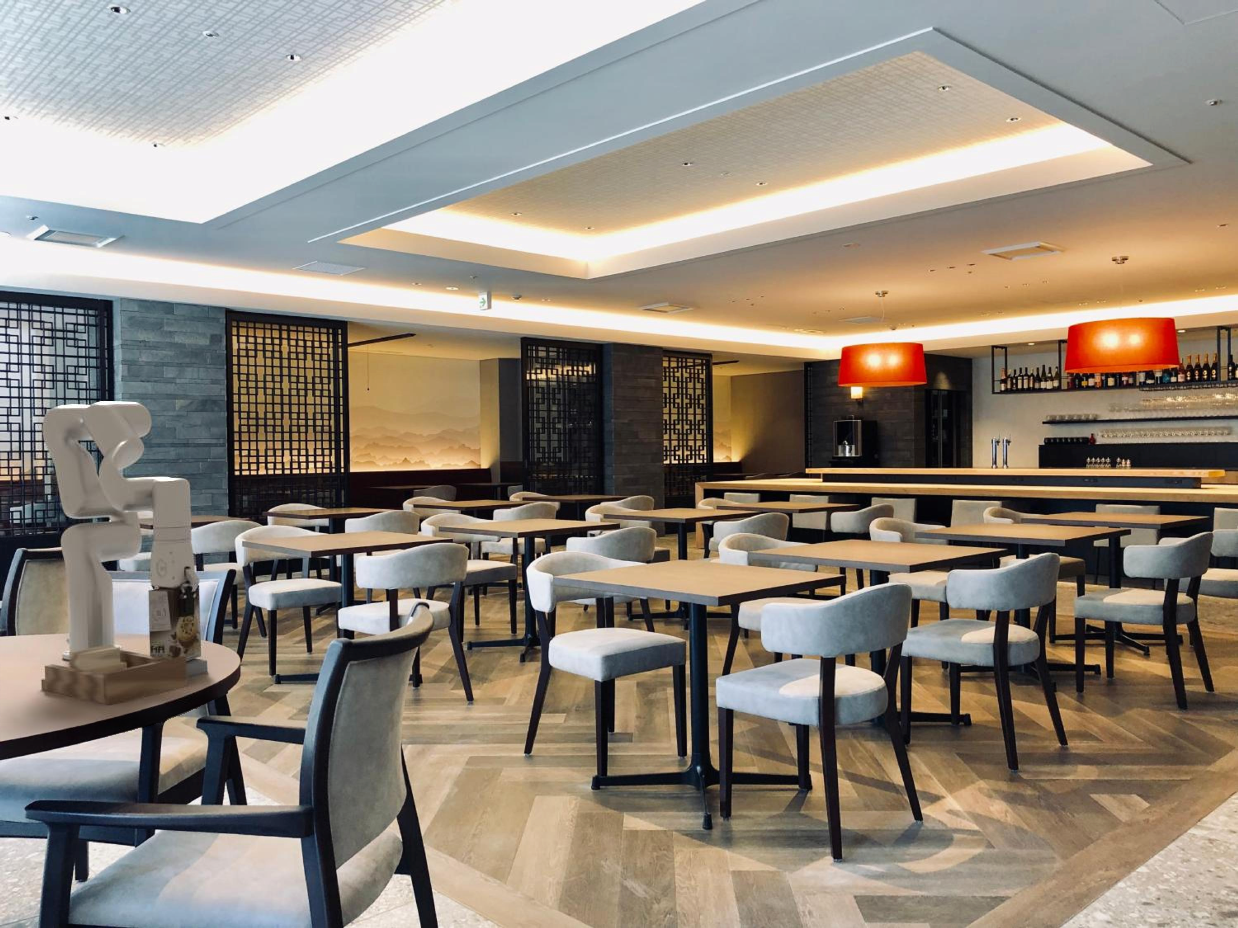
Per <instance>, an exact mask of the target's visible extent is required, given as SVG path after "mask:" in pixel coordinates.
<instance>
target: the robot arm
mask: <svg viewBox="0 0 1238 928" xmlns="http://www.w3.org/2000/svg"><path fill="white" fill-rule="evenodd" d="M151 429H152V417H151V414H150V411H149V410H148V409H147V408H146V407H145V406H144V405H143V404H141V403H140V402H135V401H98V402H95V403H92V404H65V405H64V404H63V405H59V406H58V405H57V406H55V407H51V408H50V409H48V410H47V411H46V413H45V415H44V417H43V421H42V435H43V440H44V444H45V447H46V448H47V451H48V452H49V455H50V456H51V459H52V461H53V464H54V468H55V474H56V475H55V476H56V479H57V480H56V481H57V486H58V492H59V499H60V504H61V507H62V510H63V513H64V514H65V516H66V517H69V518H70V519H71V518H72V519H74V520H75V519H76V520H77V519H79V520H81V519H96V518H98V519H99V518H109V520H110V521H99V522H98V521H97V522H86V523H85V522H84V523H79V524H75V525H72V526H69V527H67V529H65V531H64V532H63V533H62V535H61V538H60V547H61V552H62V556H63V559H64V565H65V566H64V567H65V572H66V583H67V584H66V587H67V590H66V591H67V606H68V607H67V611H68V613H67V614H68V638H67V639H66V643H67V644H69V649H67V650H65V651H63V652H62V655H61V656H62V659H64V660H68V661H70V659H69V652H72V651H78V650H84V649H89V648H95V647H101V646H107V645H110V646H115V647H119V648H120V651H122V650H123V647H122V646H121V645H119V644H116V643H115V642H116V641H115V617H114V616H115V615H114V614H115V613H114V612H115V611H114V588H113V587H114V586H113V585H114V584H113V578H112V576H111V574H110V572H109V571H108V570H107V569H106V568H105V567H104V565H103V564H102V563H105V562H109V561H111V562H112V561H117V560H118V561H119V560H126V559H130V558H134V557H136V556H137V555H138V554H139V553H140V551H141V549H142V543H143V542H142V541H143V540H142V539H143V538H142V531H141V525H140V520H139V513H140V512H141V513H142V512H152V526H153V530H152V532H153V533H152V534H153V542H152V546H151V550H150V551H151V553H150V562H149V563H150V569H149V570H150V572H149V573H150V574H149V575H148V577H149V580H150V586H151V588H152V590H154V589H159V588H170V589H175V588H177V589H178V591H179V593H180V596H181V599H179V611H180V617H187V616H193V615H194V614H195V609H194V597H195V596H196V591H197V587H198V585H199V584H200V578H199V577H198V576H197V575H196V571H195V570H196V569H195V567H196V566H195V559H194V549H193V545H192V517H191V516H192V515H191V514H192V510H191V484H190V481H189V480H187V479H186V478H181V477H180V478H179V477H169V476H147V477H146V476H145V477H124V475H122V473H121V472H120V471H121V470H123V469H125V468H128V467H129V466H131V465H133V464H135V463H136V462H137V461H138V460H139V459H141V457H142V455H143V453H144V450H145V445H144V443H143V441H142V440H141V438H142V437H145V436H146V435H148V434H149V433H150V432H151V431H150V430H151ZM79 441H93V442H94V443H95V445H96V446H97V449H99V451H100V452H101V454H102V456H103V459H102V460H101V462H100V464H99V470H98V472H97V467H96V462H95V459H94V457H93V455H91V453H90V452H89V451H88V450H87V448H85V446H83V445H81V444H80V443H79ZM185 588H187V589H186V591H184V589H185Z"/></svg>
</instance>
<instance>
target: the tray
mask: <svg viewBox="0 0 1238 928" xmlns="http://www.w3.org/2000/svg"><path fill="white" fill-rule="evenodd" d="M120 662H125V663H127V668H125V669H121V670H116V671H111V672H107V673H103V675H102V674H97V673H92V672H87V671H83V670H78V669H73V668H70V666H62V665H58V664H54V663H53V664H45V665H44V678H42V679H40V680H41V690H45V691H49V692H53V693H56V694H61V695H65V696H70V697H73V698H76V699H82V700H86V701H89V702H94V703H98V704H101V705H102V704H103V705H107V706H111V705H115V704H119V702H120V703H122V702H127V701H131V700H136V699H140V698H143V697H148V696H151V695H156V694H160V693H161V694H162V693H164V692H169V691H172V690H176V689H181V688H184V687H185V688H186V687H188V684H187V683H188V678H187V671H186V657H182V656H181V657H176V658H172V659H167V658H162V657H156V656H151V655H150V654H146V653H145V654H144V653H139V652H133V651H129V650H128V651H127V650H123V649H122V651H120Z"/></svg>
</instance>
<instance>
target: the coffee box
mask: <svg viewBox="0 0 1238 928" xmlns="http://www.w3.org/2000/svg"><path fill="white" fill-rule="evenodd" d="M186 589H187V588H185V589H184V591H186ZM179 599H181V596H180V593H179V591H178V589H177V588H175V589H170V588H159V589H150V590H148V627H149V629H148V630H149V633H148V634H149V637H148V638H149V655H151V656H156V657H162V658H167V659H172V658H176V657H181V656H182V657H186V661H188V660H192V659H195V658H196V659H199V658H200V657H202V636H201V612H200V611H201V610H200V609H201V608H200V607H201V606H200V603H201V602H200V585H199V584H198V587H197V591H196V596H195V597H194V609H195V614H194V615H193V616H187V617H180V611H179Z"/></svg>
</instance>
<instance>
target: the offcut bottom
mask: <svg viewBox="0 0 1238 928" xmlns="http://www.w3.org/2000/svg"><path fill="white" fill-rule="evenodd" d="M125 668H127V663H125V662H120V664H118V665H113V666H108V667H102V668H97V669H92V670H87V672H92V673H97V674H102V675H103V673H107V672H111V671H116V670H121V669H125Z"/></svg>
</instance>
